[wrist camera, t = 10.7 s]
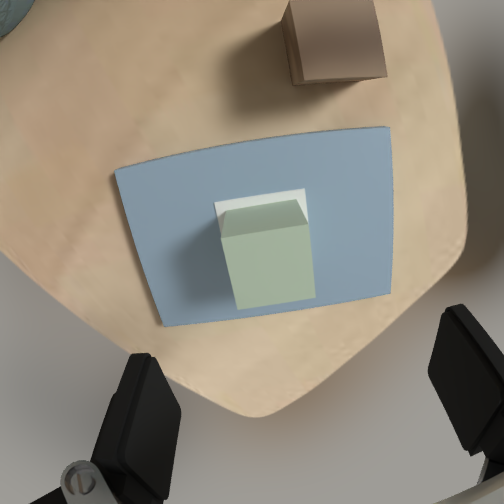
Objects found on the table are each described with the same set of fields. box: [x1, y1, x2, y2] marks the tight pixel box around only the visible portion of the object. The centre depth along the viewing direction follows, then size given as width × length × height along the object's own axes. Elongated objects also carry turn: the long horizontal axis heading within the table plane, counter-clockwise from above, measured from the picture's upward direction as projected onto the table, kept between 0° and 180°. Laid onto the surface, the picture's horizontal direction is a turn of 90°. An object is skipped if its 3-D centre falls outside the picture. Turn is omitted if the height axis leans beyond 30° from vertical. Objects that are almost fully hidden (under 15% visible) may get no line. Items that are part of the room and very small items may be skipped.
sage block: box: [221, 199, 316, 310], centre depth 22 cm, size 5×5×5 cm
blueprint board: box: [114, 126, 393, 327], centre depth 24 cm, size 14×20×1 cm
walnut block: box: [281, 0, 387, 86], centre depth 17 cm, size 5×5×5 cm
